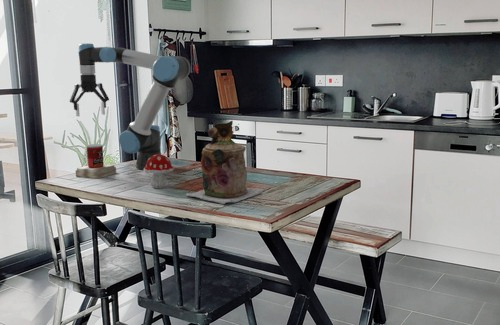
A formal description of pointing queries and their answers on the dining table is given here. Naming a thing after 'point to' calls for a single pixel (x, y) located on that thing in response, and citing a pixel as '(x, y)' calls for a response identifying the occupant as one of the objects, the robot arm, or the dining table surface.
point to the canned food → (95, 155)
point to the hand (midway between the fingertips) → (90, 115)
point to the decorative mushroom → (158, 170)
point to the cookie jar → (224, 168)
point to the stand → (95, 171)
